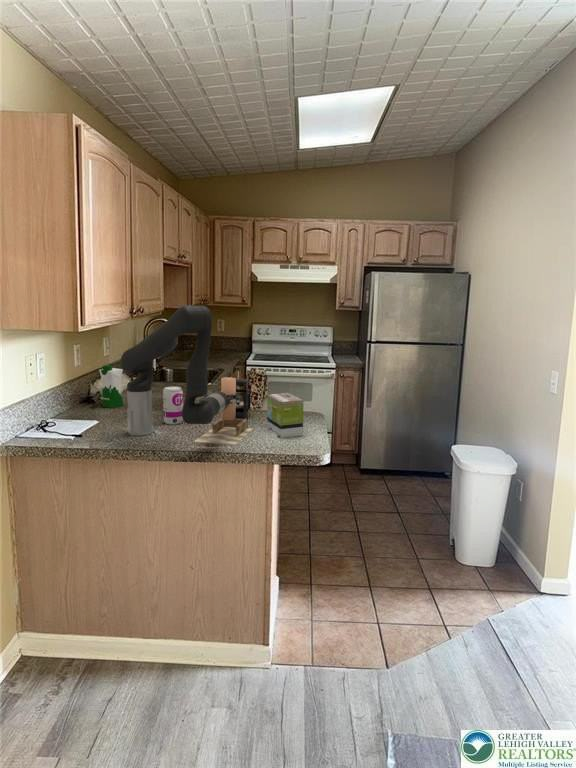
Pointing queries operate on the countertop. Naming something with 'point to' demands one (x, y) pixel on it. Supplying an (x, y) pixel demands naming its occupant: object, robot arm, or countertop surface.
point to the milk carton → (111, 387)
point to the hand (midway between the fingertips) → (230, 394)
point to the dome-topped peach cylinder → (228, 388)
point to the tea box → (285, 414)
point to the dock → (226, 432)
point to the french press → (243, 412)
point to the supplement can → (172, 405)
